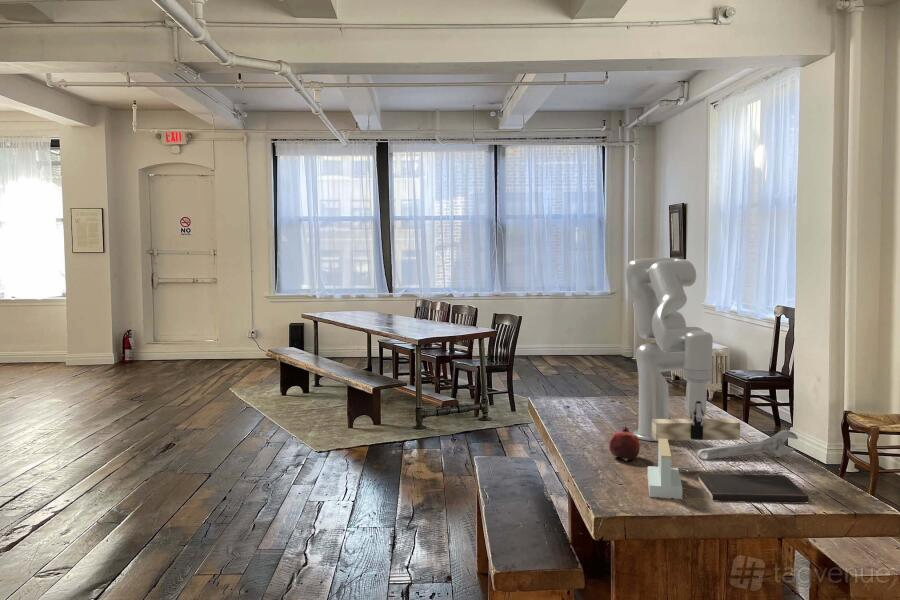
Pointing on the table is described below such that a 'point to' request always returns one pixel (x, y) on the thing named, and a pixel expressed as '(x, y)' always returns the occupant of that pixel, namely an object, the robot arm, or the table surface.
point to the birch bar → (682, 429)
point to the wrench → (753, 447)
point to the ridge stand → (664, 475)
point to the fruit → (624, 445)
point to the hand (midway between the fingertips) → (695, 435)
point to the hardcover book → (752, 488)
